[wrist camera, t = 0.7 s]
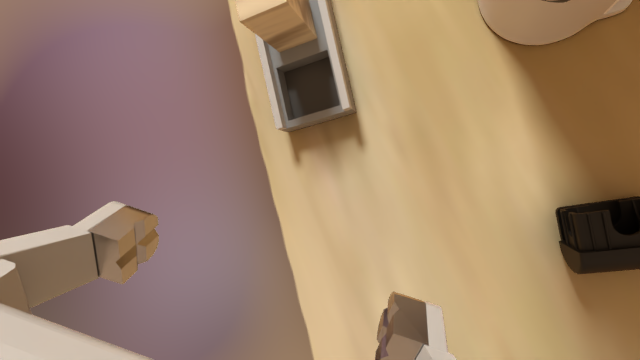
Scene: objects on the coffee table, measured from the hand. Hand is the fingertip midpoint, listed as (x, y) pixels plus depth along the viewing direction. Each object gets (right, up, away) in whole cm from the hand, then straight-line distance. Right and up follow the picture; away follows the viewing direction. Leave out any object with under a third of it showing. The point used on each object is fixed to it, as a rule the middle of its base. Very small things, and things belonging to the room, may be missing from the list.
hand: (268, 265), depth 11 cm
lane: (-2, +27, +40) cm, 48 cm away
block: (-2, +25, +37) cm, 45 cm away
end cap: (+36, -3, +30) cm, 47 cm away
